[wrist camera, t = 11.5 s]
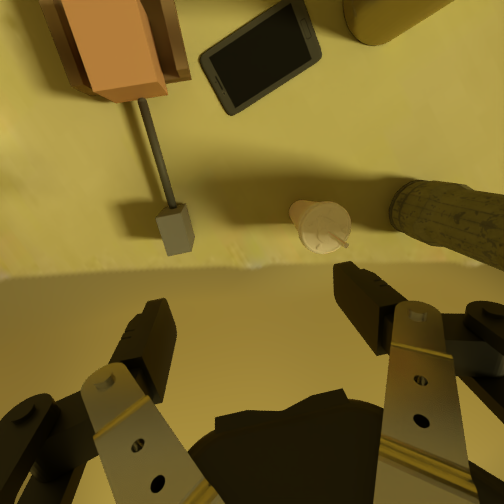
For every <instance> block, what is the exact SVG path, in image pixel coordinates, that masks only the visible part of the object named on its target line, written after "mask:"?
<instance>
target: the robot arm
mask: <svg viewBox="0 0 504 504" xmlns="http://www.w3.org/2000/svg"><path fill="white" fill-rule="evenodd" d="M453 1H454V0H343V8H344V15H345V19H346V23H347V25H348V27H349V29H350V31H351V32H352V34H353V35H354V36H355V37H356V38H357V39H358V40H359V41H361V42H362V43H365V44H367V45H374V46H376V45H382V44H385V43H387V42H389V41H391V40H392V39H394V38H396V37H397V36H399V35H400V34H402V33H403V32H405V31H407V30H408V29H410V28H412V27H413V26H415V25H416V24H418V23H419V22H421V21H423V20H424V19H426V18H427V17H429V16H431V15H432V14H434V13H435V12H437V11H438V10H440V9H442V8H443V7H445V6H446V5H448V4H450V3H451V2H453ZM333 279H334V281H333V283H334V296H335V300H336V302H337V304H338V306H339V307H340V308H341V309H342V311H343V312H344V313H345V315H346V316H347V317H348V319H349V320H350V321H351V323H352V324H353V325H354V327H355V328H356V329H357V331H358V332H359V333H360V334H361V336H362V337H363V338H364V340H365V341H366V343H367V344H368V345H369V347H370V348H371V349H372V350H373V352H374V353H375V354H376V356H379V355H383V354H388V355H389V366H388V375H387V384H386V393H385V403H384V409H383V408H381V407H379V406H377V405H374V404H371V403H368V402H364V401H360V400H354V399H348V398H347V396H346V394H345V392H344V390H343V389H338V390H333V391H329V392H325V393H320V394H316V395H312V396H310V397H308V398H306V399H304V400H302V401H300V402H298V403H297V404H295V405H293V406H291V407H289V408H287V409H285V410H283V411H257V410H246V411H241V412H237V413H232V414H228V415H224V416H219V417H216V418H215V430H214V431H211V432H210V433H208V434H207V435H205V436H204V437H202V438H201V439H200V440H199V441H197V442H196V443H195V444H194V445H193V446H192V447H191V448H190V450H189V451H188V452H187V451H186V450H185V449H184V447H183V445H182V444H181V443H180V441H179V440H178V438H177V437H176V435H175V434H174V432H173V431H172V429H171V428H170V426H169V425H168V424H167V422H166V421H165V419H164V418H163V416H162V415H161V413H160V412H159V411H158V409H157V408H156V406H155V405H154V404H158V403H162V402H163V398H164V393H165V389H166V384H167V379H168V375H169V370H170V366H171V361H172V356H173V351H174V347H175V342H176V338H177V331H176V325H175V322H174V319H173V316H172V314H171V311H170V308H169V305H168V302H167V300H166V299H165V298H161V299H157V300H151V301H148V302H147V303H146V305H145V308H144V310H143V312H142V313H141V314H137V315H136V316H135V317H134V318H133V319H132V320H131V321H130V322H129V324H128V325H127V328H126V329H125V333H124V334H123V335H122V337H121V340H120V341H119V343H118V345H117V347H116V349H115V351H114V353H113V355H112V357H111V359H110V361H109V363H108V365H105V366H103V367H101V368H100V369H98V370H96V371H95V372H94V373H92V375H90V376H89V377H88V378H87V379H86V381H85V382H84V384H83V385H82V388H81V391H79V392H76V393H74V394H72V395H70V396H67V397H65V398H63V399H61V400H59V401H56V402H55V401H54V399H53V398H52V397H51V395H49V394H45V393H44V394H38V395H35V396H32V397H30V398H28V399H26V400H24V401H23V402H21V403H19V404H18V405H17V406H15V407H14V408H13V409H11V410H10V411H9V412H8V413H7V414H6V415H5V416H4V417H3V418H2V420H1V421H0V504H14V502H15V498H16V496H17V493H18V492H19V490H20V488H21V486H22V484H23V482H24V480H25V479H26V477H27V475H28V473H29V471H30V472H31V474H32V476H31V478H30V480H29V482H28V484H27V485H26V488H25V489H24V491H23V493H22V495H21V497H20V499H19V501H18V503H17V504H72V501H73V498H74V496H75V493H76V490H77V487H78V485H79V482H80V479H81V477H82V474H83V471H84V468H85V466H86V463H87V461H88V460H91V459H92V458H94V457H96V456H98V455H99V456H100V459H101V462H102V464H103V468H104V470H105V473H106V476H107V479H108V482H109V485H110V487H111V490H112V493H113V496H114V499H115V501H116V504H504V482H503V481H502V480H500V479H498V478H497V477H495V476H494V475H492V474H490V473H489V472H487V471H485V470H484V469H482V468H480V467H479V466H477V465H476V464H474V463H472V462H471V461H469V460H468V456H467V450H466V443H465V436H464V430H463V423H462V416H461V410H460V403H459V396H458V390H457V384H456V376H458V377H459V378H460V379H461V380H462V381H463V382H464V383H465V384H466V385H467V386H468V387H469V388H470V389H471V390H472V391H473V392H474V393H475V394H476V395H477V396H478V397H479V399H480V400H482V402H483V403H484V404H485V405H486V406H487V407H488V408H489V409H490V410H491V411H492V412H493V413H494V414H495V415H496V416H497V417H498V418H499V419H500V420H501V421H502V422H503V424H504V305H502V304H498V303H495V302H489V301H474V302H471V303H469V304H468V305H467V306H466V310H465V314H444V313H440V312H439V311H438V310H437V309H436V308H435V307H433V306H431V305H429V304H426V303H423V302H419V301H408V300H407V299H406V298H404V297H403V296H402V295H401V294H400V293H398V292H397V291H396V290H395V289H393V288H392V287H391V286H390V285H388V284H387V283H386V282H385V281H383V280H381V278H380V277H379V276H377V275H376V274H375V273H373V272H370V271H368V270H365V269H359V268H358V267H357V266H356V265H355V264H354V263H353V262H351V261H348V262H343V263H338V264H334V266H333Z"/></svg>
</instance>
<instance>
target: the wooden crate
mask: <svg viewBox="0 0 504 504" xmlns="http://www.w3.org/2000/svg"><path fill="white" fill-rule="evenodd" d="M140 2H141V4H142V6H143V8H144V10H145V12H146V14H147V16H148V18H149V21H150V25H151V29H152V33H153V37H154V41H155V45H156V49H157V53H158V57H159V61H160V65H161V69H162V72H163V76H164V80H165V84H168V83H174V82H180V81H187V80H192V79H191V75H190V70H189V66H188V61H187V57H186V52H185V47H184V43H183V38H182V34H181V29H180V25H179V20H178V16H177V11H176V6H175V2H174V0H140ZM39 3H40V6H41V8H42V11H43V14H44V16H45V19H46V21H47V24H48V27H49V29H50V32H51V35H52V37H53V40H54V43H55V45H56V48H57V50H58V53H59V56H60V58H61V61H62V64H63V66H64V69H65V71H66V74H67V77H68V79H69V82H70V85H71V87H73V88H75V89H77V90H79V91H82V92H84V93H86V94H88V95H90V96H93V95H99V94H97V93H95V92H93V89H92V87H91V84H90V81H89V78H88V75H87V72H86V70H85V67H84V64H83V61H82V58H81V55H80V53H79V50H78V47H77V44H76V41H75V38H74V36H73V33H72V30H71V27H70V24H69V21H68V19H67V16H66V13H65V10H64V7H63V4H62V2H61V0H39Z"/></svg>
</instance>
